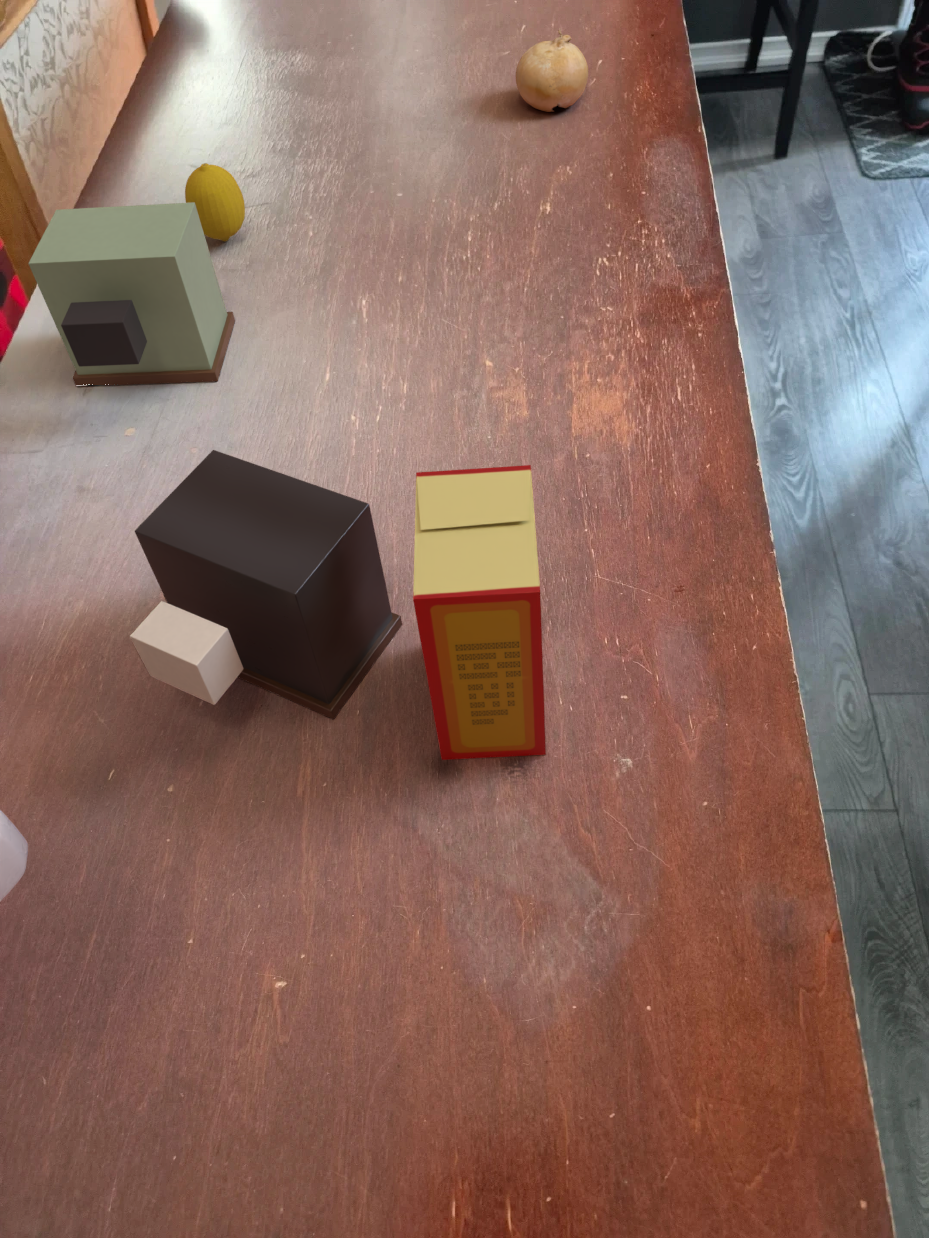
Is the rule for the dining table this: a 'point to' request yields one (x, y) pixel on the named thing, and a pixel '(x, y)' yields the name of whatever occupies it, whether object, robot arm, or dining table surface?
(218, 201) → the lemon
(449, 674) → the baking soda box
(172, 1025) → the dining table surface
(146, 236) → the green key block
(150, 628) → the white rectangular block
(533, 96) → the onion
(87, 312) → the dark brown block
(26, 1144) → the dining table surface
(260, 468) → the black key block
